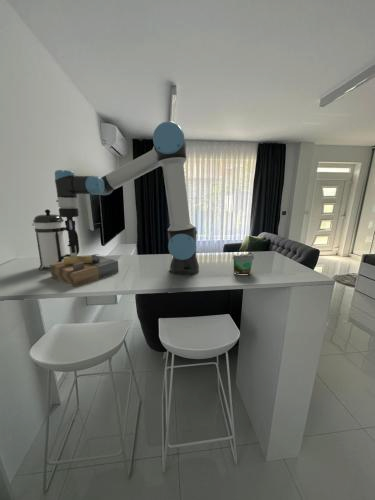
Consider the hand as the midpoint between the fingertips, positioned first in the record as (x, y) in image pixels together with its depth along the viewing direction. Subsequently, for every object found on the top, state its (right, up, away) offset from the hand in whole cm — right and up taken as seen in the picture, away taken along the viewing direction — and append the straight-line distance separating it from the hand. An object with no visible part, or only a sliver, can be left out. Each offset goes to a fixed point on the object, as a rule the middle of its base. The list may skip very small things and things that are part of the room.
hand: (74, 258), depth 99 cm
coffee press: (-16, -5, +14) cm, 21 cm away
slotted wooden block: (+4, -8, +3) cm, 9 cm away
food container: (+82, -8, +8) cm, 83 cm away
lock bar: (+4, -2, 0) cm, 5 cm away
